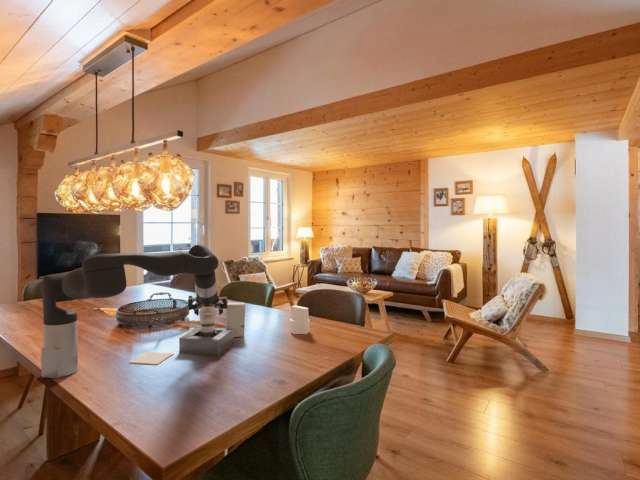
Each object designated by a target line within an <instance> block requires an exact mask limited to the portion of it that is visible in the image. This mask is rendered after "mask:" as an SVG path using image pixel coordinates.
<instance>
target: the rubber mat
mask: <svg viewBox="0 0 640 480" xmlns="http://www.w3.org/2000/svg"><path fill="white" fill-rule="evenodd" d="M174 355H175V353H174V352H161V351H160V352H159V351H158V352H157V351H155V352H154V351H146V352H144V353H142V354H141V355H139V356H137V357H136V358H134V359H132V360H130V361H128V364H135V365H137V364H138V365H154V366H155V365H156V366H158V365H160V364H161V363H163V362H165V361H166V360H167V359H168V358H171V357H172V356H174Z"/></svg>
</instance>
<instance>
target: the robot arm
mask: <svg viewBox="0 0 640 480" xmlns="http://www.w3.org/2000/svg"><path fill="white" fill-rule="evenodd" d="M83 259H84V260H82V262H81V267H78V268H75V269H73V270H71V271H69V272H67V273H56V274H48V275H45V276H43V277H42V280H41V297H42V314H43V315H42V316H43V318H42V319H43V347H42V348H41V349H40V356H41V357H40V359H41V360H40V361H41V362H40V363H41V365H40V366H41V378H45V379H46V378H49V379H51V378H52V379H60V378H63V377H67V376H71V375H73V374H74V373H77V372H78V370H79V356H78V355H79V354H78V353H79V349H78V347H79V346H78V345H79V344H78V313H77V311H75V310H71V309H64V308H61V307H59V306H57V303H59V302H60V303H61V302H68V301H69V302H70V301H75V300H86V299H91V298H92V299H106V298H111V297H115V296H119V295H120V294H122V293H123V292H124V291H125V290H126V288H127V284H128V283H127V276H126V270H125V266H127V265H128V266H129V265H130V266H134V267H137V268H140V269H143V270H145V271H147V272H149V273H151V274H153V275H157V276H160V277H171V276H176V275H182V274H187V275H193V278H194V288H195V295H196V296H195V297H193V296H192V295H188V300H187V306H188V308H187V309H188V310H190V311H191V310H193V312H194V315H196V316H200V315H199V311H200V309H201V308H202V307H203V306H204V307H207V306H210V307H212V306H213V307H214V308H215V309H218V314H219V316H221V315H222V314H223V313H224V310H226V309H227V304H228V303H229V302H228V297H227V295H226V294H224V295H222V296H219V295H218V294H219V293H218V284H217V279H216V278H217V277H216V270H217V268H218V266H219V260H218V257H217V256H216V255H215V254H214V253H213V252H212V251H211V250H210V249H209V248H208V247H207V246H206V245H203V244H200V243H199V244H195V245H193V246H191V247H190V248H189V250H188V252H187V251H185V250H179V251H171V252H161V253H150V252H149V253H145V252H144V253H143V252H140V253H138V252H136V253H135V252H129V253H127V252H126V253H123V252H121V253H120V252H119V253H118V252H117V253H102V254H96V255H92V256H89V257H86V258H83Z"/></svg>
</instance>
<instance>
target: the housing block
mask: <svg viewBox="0 0 640 480" xmlns="http://www.w3.org/2000/svg"><path fill="white" fill-rule="evenodd" d="M214 328H215V337H201V336H200V333H201V326H198V327H196V328H193V330H190V331H189V332H187V333H186V334H184V335H182V336H181V337H179V340H178V341H179V342H178V344H179V349H178V350H179V351H178V352H179V354H187V355H203V356H217V357H219V356H220V355H221V354H222V353H223V352H224V351H227V349H228V348H229V347H231V345H232V343H234V342H235V341H234V340H235V339H234V338H235V337H234V329H230V328H226V327H214Z"/></svg>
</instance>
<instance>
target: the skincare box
mask: <svg viewBox="0 0 640 480" xmlns="http://www.w3.org/2000/svg"><path fill="white" fill-rule="evenodd" d="M225 314H226V315H225V328H230V329H234V338H237V337H238V338H239V337H240V338H241V337H245V325H246V324H245V317H246V303H245V302H242V301H241V302H239V301H238V302H236V301H235V302H228V304H227V309H225Z"/></svg>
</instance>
